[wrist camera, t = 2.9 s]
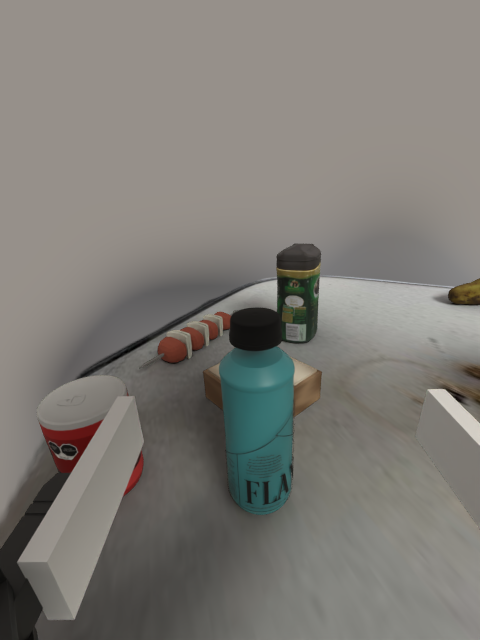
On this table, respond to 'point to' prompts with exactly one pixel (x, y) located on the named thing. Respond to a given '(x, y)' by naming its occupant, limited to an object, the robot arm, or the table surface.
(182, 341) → the skewer
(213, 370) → the walnut pedestal
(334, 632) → the table surface
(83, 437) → the canned food
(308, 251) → the coffee jar
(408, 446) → the table surface
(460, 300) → the potato
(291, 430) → the beverage bottle
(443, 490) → the table surface
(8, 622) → the robot arm
